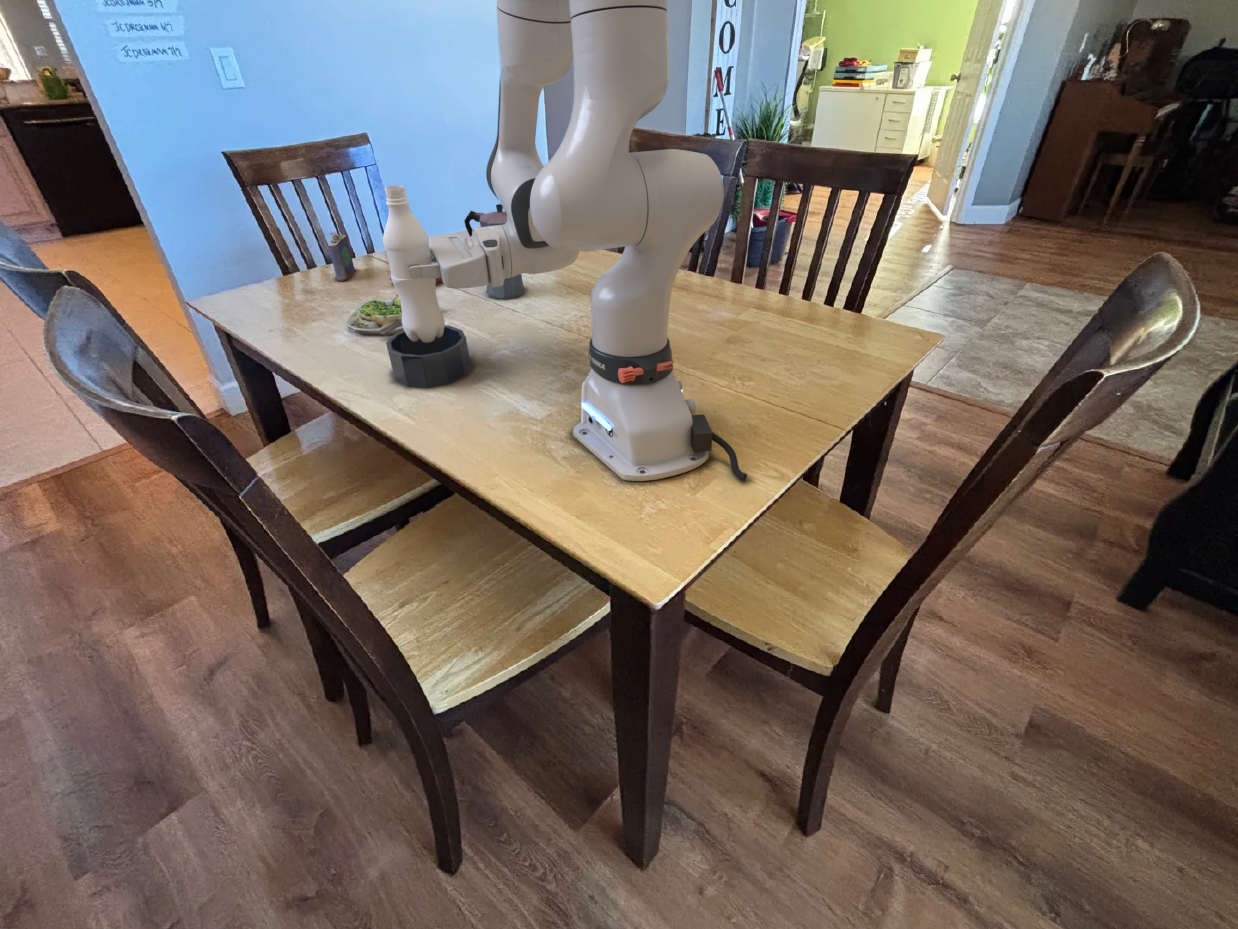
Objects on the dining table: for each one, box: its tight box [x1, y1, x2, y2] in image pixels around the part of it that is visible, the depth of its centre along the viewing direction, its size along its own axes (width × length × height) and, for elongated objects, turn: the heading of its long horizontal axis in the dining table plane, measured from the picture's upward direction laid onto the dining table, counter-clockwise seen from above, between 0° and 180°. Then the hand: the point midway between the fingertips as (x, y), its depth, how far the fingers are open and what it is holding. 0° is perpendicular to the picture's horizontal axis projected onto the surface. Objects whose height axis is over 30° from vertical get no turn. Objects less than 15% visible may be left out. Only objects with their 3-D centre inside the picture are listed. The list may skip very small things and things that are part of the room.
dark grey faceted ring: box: [385, 324, 472, 389], centre depth 114 cm, size 14×14×6 cm
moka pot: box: [463, 203, 525, 300], centre depth 142 cm, size 10×15×20 cm, turn 78°
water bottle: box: [382, 184, 445, 343], centre depth 104 cm, size 7×7×25 cm
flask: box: [327, 231, 356, 282], centre depth 156 cm, size 9×3×11 cm, turn 2°
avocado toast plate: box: [345, 293, 404, 336], centre depth 132 cm, size 19×18×5 cm
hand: (405, 264), depth 104 cm, fingers closed on water bottle, 7 cm apart
